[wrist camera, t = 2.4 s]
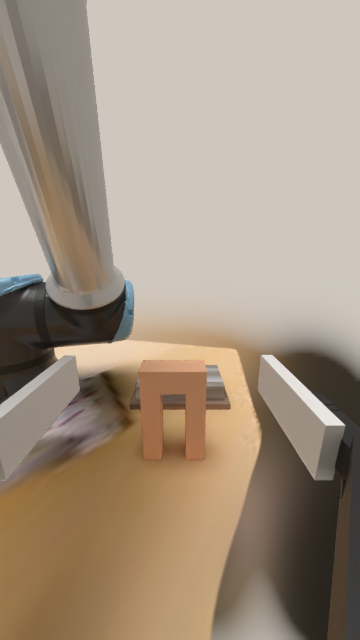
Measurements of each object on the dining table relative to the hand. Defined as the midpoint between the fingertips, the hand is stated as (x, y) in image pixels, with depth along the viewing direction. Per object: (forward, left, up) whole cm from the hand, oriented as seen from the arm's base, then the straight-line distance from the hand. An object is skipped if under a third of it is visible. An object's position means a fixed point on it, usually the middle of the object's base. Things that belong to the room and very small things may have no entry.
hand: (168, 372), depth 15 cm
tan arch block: (-5, +9, -18) cm, 20 cm away
